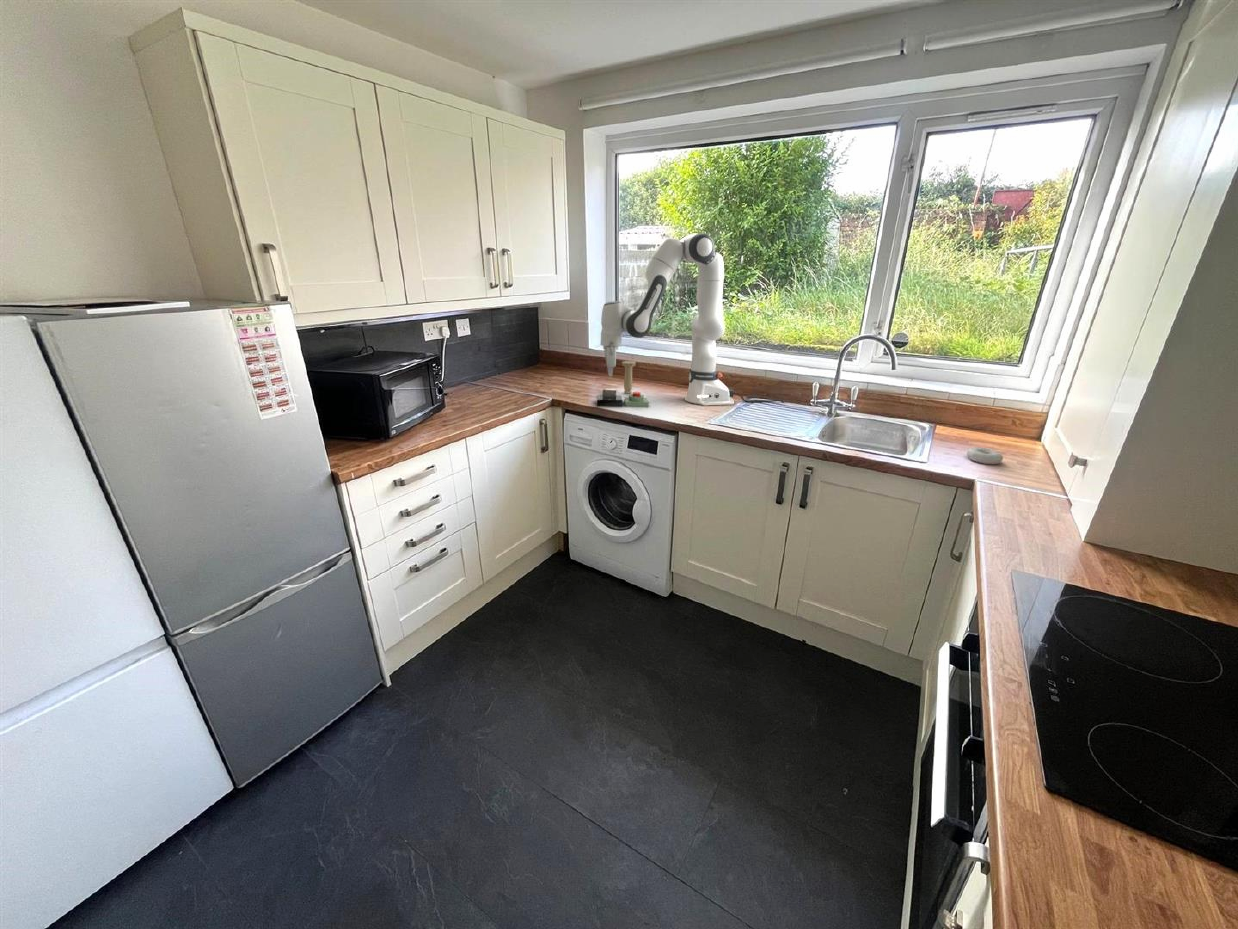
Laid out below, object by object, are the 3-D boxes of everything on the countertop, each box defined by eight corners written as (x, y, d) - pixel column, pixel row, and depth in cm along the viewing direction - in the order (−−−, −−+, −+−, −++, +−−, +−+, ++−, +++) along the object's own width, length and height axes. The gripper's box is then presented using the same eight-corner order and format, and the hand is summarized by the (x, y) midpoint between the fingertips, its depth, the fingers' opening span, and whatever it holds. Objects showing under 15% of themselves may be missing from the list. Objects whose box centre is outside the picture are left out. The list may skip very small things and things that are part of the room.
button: (640, 395, 222) (640, 391, 222) (640, 397, 219) (641, 393, 218) (631, 395, 222) (632, 391, 221) (632, 397, 219) (632, 393, 218)
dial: (616, 396, 221) (616, 388, 219) (616, 397, 219) (616, 389, 218) (602, 396, 220) (602, 388, 219) (602, 397, 219) (602, 389, 217)
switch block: (646, 402, 226) (646, 393, 224) (648, 406, 218) (648, 398, 217) (624, 402, 225) (624, 393, 224) (625, 406, 218) (625, 397, 216)
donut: (987, 467, 162) (1008, 464, 165) (990, 457, 160) (1011, 454, 163) (958, 457, 170) (979, 454, 173) (961, 447, 169) (982, 444, 172)
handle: (635, 394, 240) (637, 362, 235) (623, 394, 238) (624, 363, 232) (631, 391, 244) (633, 361, 239) (619, 392, 242) (620, 361, 237)
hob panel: (620, 401, 226) (620, 394, 225) (622, 407, 216) (622, 400, 215) (596, 400, 225) (596, 394, 224) (597, 406, 216) (597, 399, 215)
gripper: (620, 344, 202) (618, 378, 207) (617, 338, 221) (615, 369, 226) (604, 344, 201) (603, 378, 206) (602, 337, 220) (601, 369, 225)
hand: (609, 373), depth 216 cm, fingers open, 8 cm apart
